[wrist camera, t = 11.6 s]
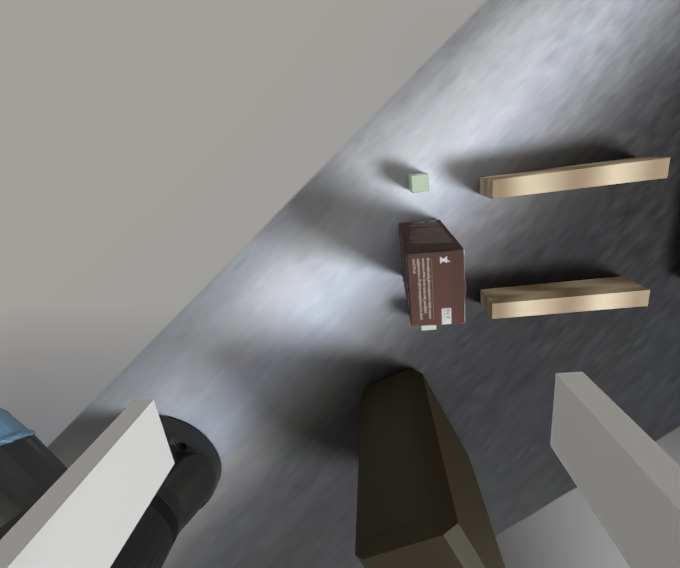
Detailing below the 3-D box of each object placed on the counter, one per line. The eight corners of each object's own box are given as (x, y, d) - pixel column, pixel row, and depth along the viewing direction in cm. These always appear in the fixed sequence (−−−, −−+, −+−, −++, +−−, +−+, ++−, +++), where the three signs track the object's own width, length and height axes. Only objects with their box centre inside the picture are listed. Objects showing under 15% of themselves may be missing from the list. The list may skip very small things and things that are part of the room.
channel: (480, 303, 39) (492, 318, 36) (479, 177, 35) (492, 180, 31) (620, 290, 38) (647, 305, 34) (636, 157, 34) (670, 157, 30)
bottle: (416, 360, 42) (474, 615, 19) (471, 458, 46) (574, 768, 23) (355, 386, 44) (340, 648, 21) (413, 478, 48) (455, 784, 25)
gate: (418, 318, 41) (421, 330, 38) (408, 174, 36) (411, 176, 33) (431, 317, 40) (436, 329, 38) (423, 172, 35) (428, 173, 33)
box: (395, 223, 37) (406, 253, 26) (440, 218, 37) (471, 246, 25) (398, 278, 39) (410, 329, 28) (441, 275, 39) (471, 324, 27)
